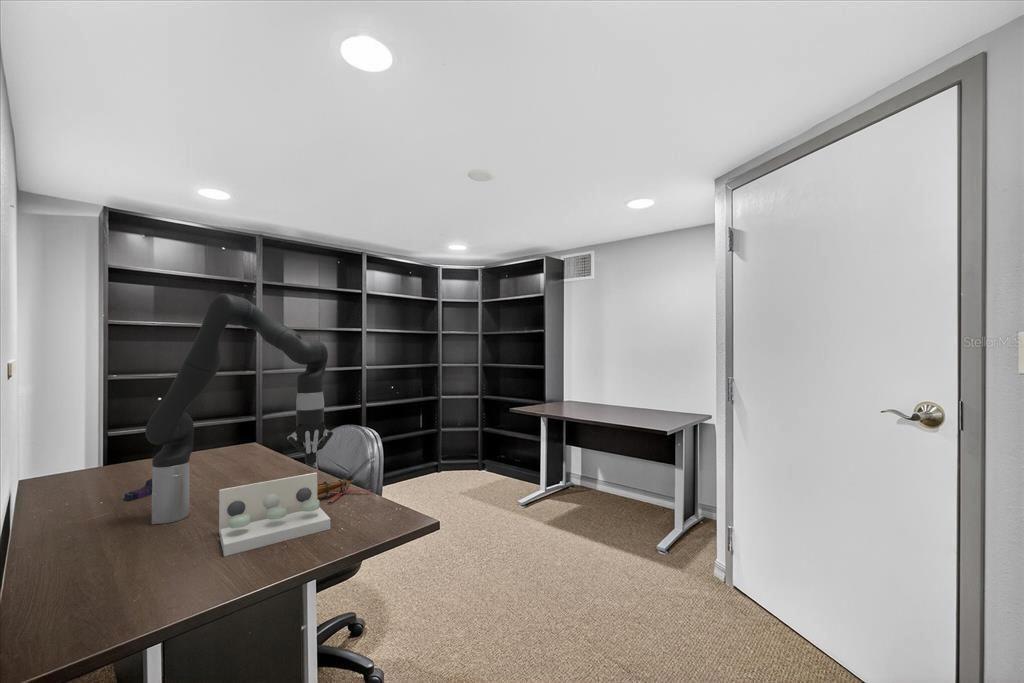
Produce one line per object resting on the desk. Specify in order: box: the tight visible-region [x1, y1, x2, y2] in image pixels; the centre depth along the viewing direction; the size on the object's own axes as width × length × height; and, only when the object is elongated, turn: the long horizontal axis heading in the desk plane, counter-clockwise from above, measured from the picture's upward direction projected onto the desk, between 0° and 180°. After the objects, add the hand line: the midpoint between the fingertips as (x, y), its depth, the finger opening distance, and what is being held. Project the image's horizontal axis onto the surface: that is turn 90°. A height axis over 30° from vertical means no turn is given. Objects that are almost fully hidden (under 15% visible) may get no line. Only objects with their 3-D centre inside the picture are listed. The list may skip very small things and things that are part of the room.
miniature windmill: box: [317, 478, 371, 503], centre depth 151 cm, size 15×11×30 cm
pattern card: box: [218, 472, 318, 537], centre depth 130 cm, size 26×4×13 cm, turn 128°
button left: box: [229, 514, 250, 528], centre depth 116 cm, size 5×5×2 cm
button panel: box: [219, 506, 331, 557], centre depth 122 cm, size 26×12×3 cm, turn 128°
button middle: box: [267, 506, 286, 520], centre depth 122 cm, size 5×5×2 cm
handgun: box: [124, 478, 152, 502], centre depth 162 cm, size 3×20×15 cm
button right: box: [302, 498, 320, 512], centre depth 127 cm, size 5×5×2 cm
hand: (310, 464), depth 127 cm, fingers closed
